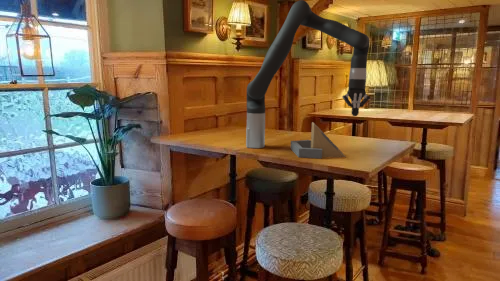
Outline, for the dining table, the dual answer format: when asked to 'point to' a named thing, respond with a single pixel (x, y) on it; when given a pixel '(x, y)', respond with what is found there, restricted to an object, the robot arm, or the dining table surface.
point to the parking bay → (305, 149)
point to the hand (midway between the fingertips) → (354, 115)
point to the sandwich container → (324, 143)
